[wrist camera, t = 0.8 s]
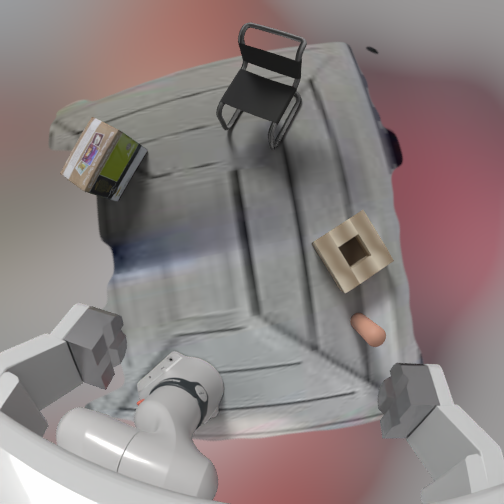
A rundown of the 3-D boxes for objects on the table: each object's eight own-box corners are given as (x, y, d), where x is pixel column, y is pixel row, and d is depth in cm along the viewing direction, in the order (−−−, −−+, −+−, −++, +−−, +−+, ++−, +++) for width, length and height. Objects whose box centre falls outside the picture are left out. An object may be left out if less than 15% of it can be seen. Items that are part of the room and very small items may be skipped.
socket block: (340, 290, 65) (345, 293, 59) (311, 243, 66) (313, 241, 60) (385, 260, 64) (393, 260, 58) (356, 213, 65) (363, 209, 59)
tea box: (122, 136, 72) (91, 114, 58) (149, 150, 71) (120, 129, 57) (92, 185, 73) (58, 173, 58) (118, 203, 72) (83, 192, 57)
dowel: (355, 331, 65) (372, 350, 50) (347, 318, 65) (363, 334, 50) (368, 323, 64) (389, 339, 50) (361, 309, 65) (380, 323, 50)
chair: (305, 94, 67) (309, 38, 45) (274, 153, 68) (267, 109, 46) (257, 76, 69) (245, 19, 47) (224, 132, 69) (198, 85, 47)
